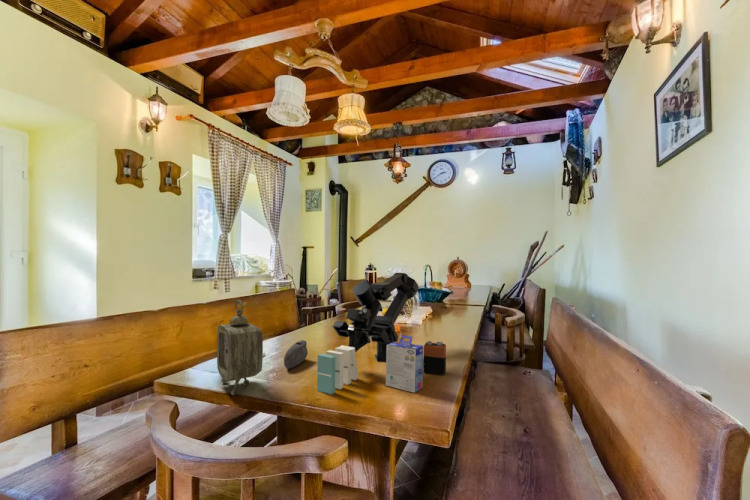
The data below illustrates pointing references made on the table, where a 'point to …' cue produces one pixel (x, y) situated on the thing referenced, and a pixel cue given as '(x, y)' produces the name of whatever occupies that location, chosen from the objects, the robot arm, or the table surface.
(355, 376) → the domino
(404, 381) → the ink cartridge box
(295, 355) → the perforated stone tool
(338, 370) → the domino
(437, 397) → the table surface
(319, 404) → the table surface
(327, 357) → the domino
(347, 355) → the domino
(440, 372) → the battery
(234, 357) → the tabletop clock
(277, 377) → the table surface
